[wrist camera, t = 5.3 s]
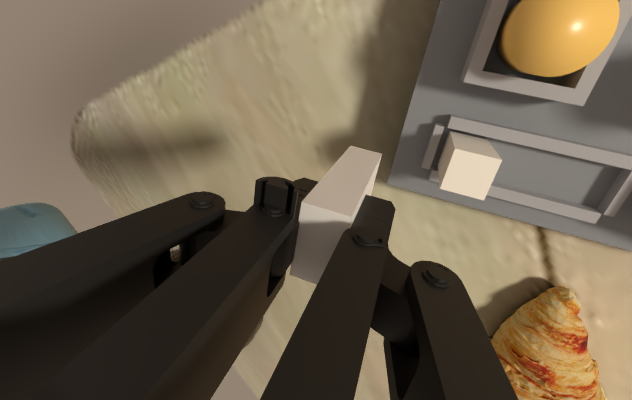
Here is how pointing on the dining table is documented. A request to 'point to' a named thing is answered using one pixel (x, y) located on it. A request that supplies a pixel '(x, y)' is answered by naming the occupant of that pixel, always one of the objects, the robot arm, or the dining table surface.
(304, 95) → the dining table surface
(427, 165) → the panel
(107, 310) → the robot arm
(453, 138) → the slider knob
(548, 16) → the amber button
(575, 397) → the croissant
